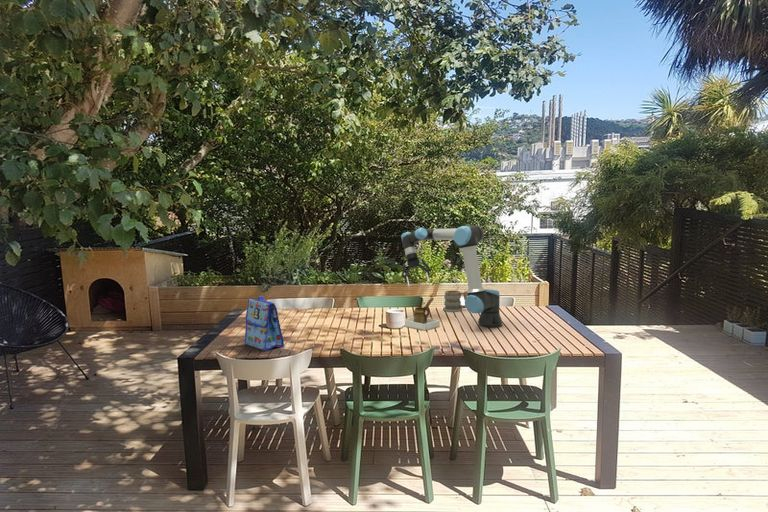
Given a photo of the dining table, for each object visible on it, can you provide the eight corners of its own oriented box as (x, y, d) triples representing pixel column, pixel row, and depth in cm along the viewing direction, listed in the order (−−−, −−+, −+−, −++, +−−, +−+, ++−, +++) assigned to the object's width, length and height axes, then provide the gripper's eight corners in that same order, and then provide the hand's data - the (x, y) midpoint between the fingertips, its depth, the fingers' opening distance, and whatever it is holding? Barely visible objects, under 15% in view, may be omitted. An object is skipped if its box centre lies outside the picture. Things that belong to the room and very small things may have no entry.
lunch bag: (244, 344, 309) (241, 295, 306) (264, 340, 318) (262, 292, 316) (264, 351, 294) (262, 299, 291) (285, 346, 303) (283, 296, 300)
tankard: (442, 311, 388) (442, 291, 386) (445, 308, 400) (445, 288, 398) (470, 313, 382) (470, 292, 380) (472, 309, 394) (472, 289, 392)
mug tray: (439, 326, 342) (439, 320, 342) (424, 330, 332) (424, 324, 332) (417, 322, 357) (417, 316, 356) (401, 325, 347) (401, 319, 346)
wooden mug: (430, 327, 338) (430, 299, 336) (410, 326, 343) (410, 298, 342) (435, 324, 346) (435, 296, 344) (415, 323, 351) (415, 295, 350)
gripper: (428, 252, 368) (436, 281, 361) (393, 260, 366) (400, 289, 359) (429, 248, 361) (437, 278, 354) (393, 256, 359) (400, 286, 352)
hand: (419, 284), depth 357 cm, fingers open, 13 cm apart
